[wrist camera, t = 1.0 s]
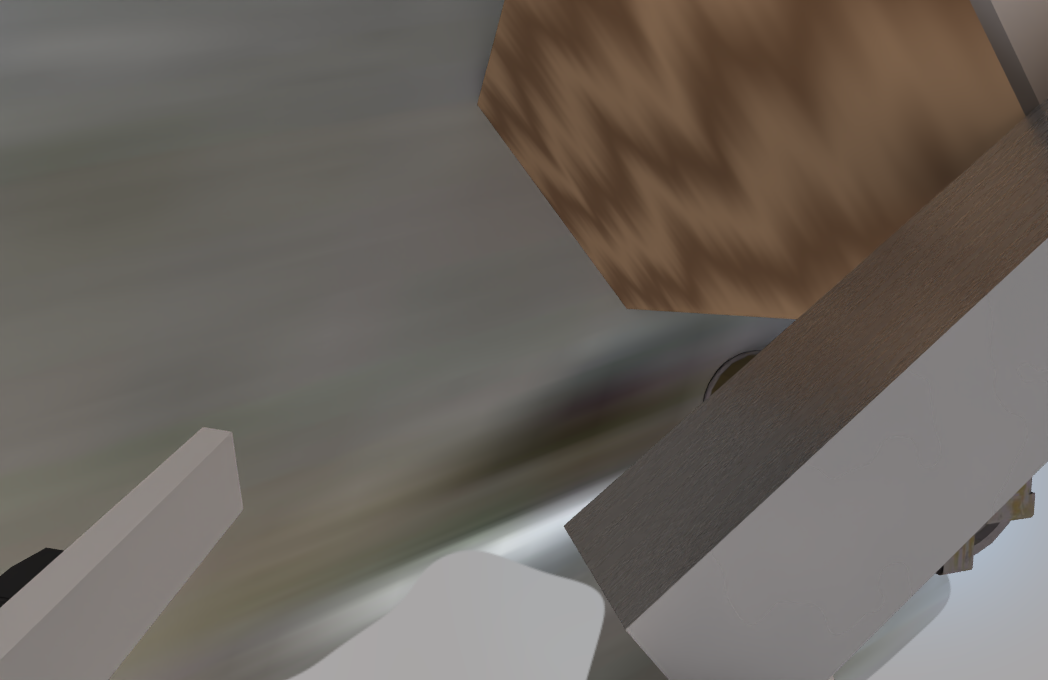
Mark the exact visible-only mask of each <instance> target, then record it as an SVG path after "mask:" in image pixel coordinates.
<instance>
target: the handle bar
mask: <svg viewBox="0 0 1048 680" xmlns="http://www.w3.org/2000/svg"><path fill="white" fill-rule="evenodd" d="M1047 461H1048V97H1047V98H1046V99H1045V100H1044V101H1043V102H1042V103H1041V104H1040V105H1038V106H1037V107H1036V108H1035V109H1034V110H1033V111H1032V112H1030V113H1029V114H1028V115H1027V116H1026V117H1025V118H1024V119H1023V120H1021V121H1020V122H1019V123H1018V124H1017V125H1016V126H1015V127H1014V128H1012V129H1011V130H1010V131H1009V132H1008V133H1007V134H1006V135H1005V136H1003V137H1002V138H1001V139H1000V140H999V141H998V142H997V143H995V144H994V145H993V146H992V147H991V148H990V149H989V150H988V151H986V152H985V153H984V154H983V155H982V156H981V157H980V158H979V159H977V160H976V161H975V162H974V163H973V164H972V165H971V166H970V167H968V168H967V169H966V170H965V171H964V172H963V173H962V174H960V175H959V176H958V177H957V178H956V179H955V180H954V181H953V182H951V183H950V184H949V185H948V186H947V187H946V188H945V189H944V190H942V191H941V192H940V193H939V194H938V195H937V196H936V197H935V198H933V199H932V200H931V201H930V202H929V203H928V204H927V205H925V206H924V207H923V208H922V209H921V210H920V211H919V212H918V213H916V214H915V215H914V216H913V217H912V218H911V219H910V220H909V221H907V222H906V223H905V224H904V225H903V226H902V227H901V228H900V229H898V230H897V231H896V232H895V233H894V234H893V235H892V236H890V237H889V238H888V239H887V240H886V241H885V242H884V243H883V244H881V245H880V246H879V247H878V248H877V249H876V250H875V251H874V252H872V253H871V254H870V255H869V256H868V257H867V258H866V259H865V260H863V261H862V262H861V263H860V264H859V265H858V266H857V267H856V268H854V269H853V270H852V271H851V272H850V273H849V274H848V275H846V276H845V277H844V278H843V279H842V280H841V281H840V282H839V283H837V284H836V285H835V286H834V287H833V288H832V289H831V290H830V291H828V292H827V293H826V294H825V295H824V296H823V297H822V298H821V299H819V300H818V301H817V302H816V303H815V304H814V305H813V306H811V307H810V308H809V309H808V310H807V311H806V312H805V313H804V314H802V315H801V316H800V317H799V318H798V319H797V320H796V321H795V322H793V323H792V324H791V325H790V326H789V327H788V328H787V329H786V330H784V331H783V332H782V333H781V334H780V335H779V336H778V337H776V338H775V339H774V340H773V341H772V342H771V343H770V344H769V345H767V346H766V347H765V348H764V349H763V350H762V351H761V352H760V353H758V354H757V355H756V356H755V357H754V358H753V359H752V360H751V361H749V362H748V363H747V364H746V365H745V366H744V367H743V368H741V369H740V370H739V371H738V372H737V373H736V374H735V375H734V376H732V377H731V378H730V379H729V380H728V381H727V382H726V383H725V384H723V385H722V386H721V387H720V388H719V389H718V390H717V391H716V392H714V393H713V394H712V395H711V396H710V397H709V398H708V399H706V400H705V401H704V402H703V403H702V404H701V405H700V406H699V407H697V408H696V409H695V410H694V411H693V412H692V413H691V414H690V415H688V416H687V417H686V418H685V419H684V420H683V421H682V422H681V423H679V424H678V425H677V426H676V427H675V428H674V429H673V430H672V431H670V432H669V433H668V434H667V435H666V436H665V437H664V438H662V439H661V440H660V441H659V442H658V443H657V444H656V445H655V446H653V447H652V448H651V449H650V450H649V451H648V452H647V453H646V454H644V455H643V456H642V457H641V458H640V459H639V460H638V461H637V462H635V463H634V464H633V465H632V466H631V467H630V468H629V469H627V470H626V471H625V472H624V473H623V474H622V475H621V476H620V477H618V478H617V479H616V480H615V481H614V482H613V483H612V484H611V485H609V486H608V487H607V488H606V489H605V490H604V491H603V492H602V493H600V494H599V495H598V496H597V497H596V498H595V499H594V500H592V501H591V502H590V503H589V504H588V505H587V506H586V507H585V508H583V509H582V510H581V511H580V512H579V513H578V514H577V515H576V516H574V517H573V518H572V519H571V520H570V521H569V522H568V523H567V524H565V525H564V527H565V529H566V531H567V532H568V534H569V536H570V538H571V539H572V541H573V543H574V544H575V546H576V548H577V549H578V551H579V553H580V554H581V556H582V558H583V559H584V561H585V563H586V564H587V566H588V568H589V569H590V571H591V573H592V574H593V576H594V578H595V580H596V581H597V583H598V585H599V586H600V588H601V590H602V591H603V593H604V595H605V596H606V598H607V600H608V601H609V603H610V605H611V606H612V608H613V610H614V611H615V613H616V615H617V616H618V618H619V620H620V621H621V623H622V625H623V627H624V628H625V630H626V631H627V632H628V633H629V634H630V636H631V637H632V638H633V639H634V640H635V641H636V642H637V644H638V645H639V646H640V647H641V648H642V649H643V650H644V652H645V653H646V654H647V655H648V656H649V657H650V658H651V660H652V661H653V662H654V663H655V664H656V665H657V666H658V668H659V669H660V670H661V671H662V672H663V673H664V674H665V676H666V677H667V678H668V679H669V680H828V679H829V678H830V677H831V676H832V675H833V674H834V673H835V672H836V671H837V670H838V669H839V668H840V667H841V666H842V665H843V664H845V663H846V662H847V661H848V660H849V659H850V658H851V657H852V656H853V655H854V654H855V653H856V652H857V651H858V650H859V649H860V648H861V647H862V646H863V645H864V644H865V643H866V642H867V641H868V640H869V639H870V638H871V637H872V636H873V635H874V634H875V633H876V632H877V631H878V630H879V629H880V628H881V627H882V626H883V625H884V624H885V623H886V622H887V621H888V620H889V619H890V618H891V617H892V616H893V615H894V614H895V613H896V612H897V611H898V610H899V609H900V608H901V607H902V606H903V605H904V604H905V603H906V602H907V601H908V600H909V599H910V598H911V597H912V596H913V595H914V594H915V593H916V592H917V591H918V590H919V589H920V588H921V587H922V586H923V585H924V584H925V583H926V582H927V581H928V580H929V579H930V578H931V577H932V576H933V575H934V574H935V573H936V572H937V571H938V570H939V569H940V568H941V567H942V566H943V565H944V564H945V563H946V562H947V561H948V560H949V559H950V558H951V557H952V556H953V555H954V554H955V553H956V552H957V551H958V550H959V549H960V548H961V547H962V546H963V545H964V544H965V543H966V542H967V541H968V540H969V539H970V538H971V537H972V536H973V535H974V534H975V533H976V532H977V531H978V530H979V529H980V528H981V527H982V526H983V525H984V524H985V523H986V522H987V521H988V520H989V519H990V518H991V517H992V516H993V515H994V514H995V513H996V512H997V511H998V510H999V509H1000V508H1001V507H1002V506H1003V505H1004V504H1005V503H1006V502H1007V501H1008V500H1009V499H1010V498H1011V497H1012V496H1013V495H1014V494H1015V493H1016V492H1017V491H1018V490H1019V489H1020V488H1021V487H1022V486H1023V485H1024V484H1025V483H1026V482H1027V481H1028V480H1029V479H1030V478H1031V477H1032V476H1033V475H1034V474H1035V473H1036V472H1037V471H1038V470H1039V469H1040V468H1041V467H1042V466H1043V465H1044V464H1045V463H1046V462H1047Z"/></svg>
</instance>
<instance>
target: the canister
mask: <svg viewBox="0 0 1048 680" xmlns="http://www.w3.org/2000/svg"><path fill="white" fill-rule="evenodd" d="M760 352H761V351H752V352H747V353H742V354H740V355H738V356H736V357H734V358H732V359H731V360H729V361H728V362H726V363H725V364H724V365H723V366H722V367H721V368H720V369H719V370H718V371H717V373H716V374H715V375H714V377H713V378H712V380H711V382H710V383H709V385H708V388H707V391H706V393H705V397H704V401H705V400H706V399H708V398H709V397H710V396H711V395H712V394H713V393H714V392H716V391H717V390H718V389H719V388H720V387H721V386H722V385H723V384H725V383H726V382H727V381H728V380H729V379H730V378H731V377H732V376H734V375H735V374H736V373H737V372H738V371H739V370H740V369H741V368H743V367H744V366H745V365H746V364H747V363H748V362H749V361H751V360H752V359H753V358H754V357H755V356H756V355H757V354H758V353H760ZM1031 485H1032V477H1031V478H1030V479H1029V480H1028V481H1027V482H1026V483H1025V484H1024V485H1023V486H1022V487H1021V488H1020V489H1019V490H1018V491H1017V492H1016V493H1015V494H1014V495H1013V496H1012V497H1011V498H1010V499H1009V500H1008V501H1007V502H1006V503H1005V504H1004V505H1003V506H1002V507H1001V508H1000V509H999V510H998V511H997V512H996V513H995V514H994V515H993V516H992V517H991V518H990V519H989V520H988V521H987V522H986V523H985V524H984V525H983V526H982V527H981V528H980V529H979V530H978V531H977V532H976V533H975V534H974V535H973V536H972V537H971V538H970V539H969V540H968V541H967V542H966V543H965V544H964V545H963V546H962V547H961V548H960V549H959V550H958V551H957V552H956V553H955V554H954V555H953V556H952V557H951V558H950V559H949V560H948V561H947V562H946V563H945V564H944V565H943V566H942V567H941V568H940V569H939V570H938V571H937V572H936V574H938V575H944V574H950V573H955V572H961V571H966V570H971V569H972V568H973V567H972V566H973V555H975V554H977V553H978V552H980V551H981V550H983V549H984V548H985V547H987V546H988V545H990V544H991V543H992V542H993V541H994V540H995V539H996V538H997V537H998V535H999V534H1000V533H1001V532H1002V531H1003V530H1004V528H1005V527H1006V526H1007V525H1008V524H1009V522H1010V521H1011V520H1018V519H1024V518H1031V517H1032V516H1033V515H1034V503H1035V502H1034V501H1035V493H1033V492H1031Z"/></svg>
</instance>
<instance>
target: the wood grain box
mask: <svg viewBox="0 0 1048 680" xmlns="http://www.w3.org/2000/svg"><path fill="white" fill-rule="evenodd" d="M1047 97H1048V0H505V1H504V5H503V9H502V12H501V16H500V20H499V24H498V28H497V31H496V35H495V39H494V43H493V47H492V50H491V54H490V58H489V62H488V66H487V70H486V73H485V77H484V81H483V85H482V89H481V92H480V96H479V100H478V104H477V105H478V106H479V107H480V109H481V110H482V112H483V113H484V114H485V116H486V117H487V118H488V120H489V121H490V123H491V124H492V125H493V127H494V128H495V129H496V131H497V132H498V133H499V135H500V136H501V138H502V139H503V140H504V142H505V143H506V144H507V146H508V147H509V148H510V150H511V151H512V153H513V154H514V155H515V157H516V158H517V159H518V161H519V162H520V163H521V165H522V166H523V168H524V169H525V170H526V172H527V173H528V174H529V176H530V177H531V178H532V180H533V181H534V183H535V184H536V185H537V187H538V188H539V189H540V191H541V192H542V194H543V195H544V196H545V198H546V199H547V200H548V202H549V203H550V204H551V206H552V207H553V209H554V210H555V211H556V213H557V214H558V215H559V217H560V218H561V219H562V221H563V222H564V224H565V225H566V226H567V228H568V229H569V230H570V232H571V233H572V234H573V236H574V237H575V239H576V240H577V241H578V243H579V244H580V245H581V247H582V248H583V249H584V251H585V252H586V254H587V255H588V256H589V258H590V259H591V260H592V262H593V263H594V265H595V266H596V267H597V269H598V270H599V271H600V273H601V274H602V275H603V277H604V278H605V280H606V281H607V282H608V284H609V285H610V286H611V288H612V289H613V290H614V292H615V293H616V295H617V296H618V297H619V299H620V300H621V301H622V303H623V304H624V305H625V307H626V308H627V309H640V310H656V311H672V312H688V313H704V314H721V315H737V316H753V317H769V318H785V319H798V318H799V317H800V316H801V315H802V314H804V313H805V312H806V311H807V310H808V309H809V308H810V307H811V306H813V305H814V304H815V303H816V302H817V301H818V300H819V299H821V298H822V297H823V296H824V295H825V294H826V293H827V292H828V291H830V290H831V289H832V288H833V287H834V286H835V285H836V284H837V283H839V282H840V281H841V280H842V279H843V278H844V277H845V276H846V275H848V274H849V273H850V272H851V271H852V270H853V269H854V268H856V267H857V266H858V265H859V264H860V263H861V262H862V261H863V260H865V259H866V258H867V257H868V256H869V255H870V254H871V253H872V252H874V251H875V250H876V249H877V248H878V247H879V246H880V245H881V244H883V243H884V242H885V241H886V240H887V239H888V238H889V237H890V236H892V235H893V234H894V233H895V232H896V231H897V230H898V229H900V228H901V227H902V226H903V225H904V224H905V223H906V222H907V221H909V220H910V219H911V218H912V217H913V216H914V215H915V214H916V213H918V212H919V211H920V210H921V209H922V208H923V207H924V206H925V205H927V204H928V203H929V202H930V201H931V200H932V199H933V198H935V197H936V196H937V195H938V194H939V193H940V192H941V191H942V190H944V189H945V188H946V187H947V186H948V185H949V184H950V183H951V182H953V181H954V180H955V179H956V178H957V177H958V176H959V175H960V174H962V173H963V172H964V171H965V170H966V169H967V168H968V167H970V166H971V165H972V164H973V163H974V162H975V161H976V160H977V159H979V158H980V157H981V156H982V155H983V154H984V153H985V152H986V151H988V150H989V149H990V148H991V147H992V146H993V145H994V144H995V143H997V142H998V141H999V140H1000V139H1001V138H1002V137H1003V136H1005V135H1006V134H1007V133H1008V132H1009V131H1010V130H1011V129H1012V128H1014V127H1015V126H1016V125H1017V124H1018V123H1019V122H1020V121H1021V120H1023V119H1024V118H1025V117H1026V116H1027V115H1028V114H1029V113H1030V112H1032V111H1033V110H1034V109H1035V108H1036V107H1037V106H1038V105H1040V104H1041V103H1042V102H1043V101H1044V100H1045V99H1046V98H1047Z"/></svg>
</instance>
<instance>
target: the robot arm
mask: <svg viewBox="0 0 1048 680" xmlns="http://www.w3.org/2000/svg"><path fill="white" fill-rule="evenodd" d="M242 511H243V503H242V496H241V489H240V483H239V476H238V469H237V462H236V455H235V448H234V441H233V435H232V432H230V431H224V430H218V429H212V428H206V427H202V428H201V429H200V430H199V431H198V432H197V433H196V434H195V435H193V436H192V437H191V438H190V439H189V440H188V441H187V442H186V443H184V444H183V445H182V446H181V447H180V448H179V449H178V450H177V451H175V452H174V453H173V454H172V455H171V456H170V457H169V458H168V459H167V460H165V461H164V462H163V463H162V464H161V465H160V466H159V467H158V468H156V469H155V470H154V471H153V472H152V473H151V474H150V475H149V476H147V477H146V478H145V479H144V480H143V481H142V482H141V483H140V484H138V485H137V486H136V487H135V488H134V489H133V490H132V491H131V492H130V493H128V494H127V495H126V496H125V497H124V498H123V499H122V500H121V501H119V502H118V503H117V504H116V505H115V506H114V507H113V508H112V509H110V510H109V511H108V512H107V513H106V514H105V515H104V516H103V517H101V518H100V519H99V520H98V521H97V522H96V523H95V524H94V525H93V526H91V527H90V528H89V529H88V530H87V531H86V532H85V533H84V534H82V535H81V536H80V537H79V538H78V539H77V540H76V541H75V542H73V543H72V544H71V545H70V546H69V547H68V548H67V549H66V550H64V551H63V550H57V549H51V548H45V549H43V550H41V551H40V552H38V553H36V554H34V555H32V556H31V557H29V558H27V559H25V560H23V561H22V562H20V563H18V564H16V565H14V566H13V567H11V568H10V569H8V570H7V571H6V572H5V573H4V574H2V575H1V576H0V680H108V679H109V678H110V677H111V676H112V674H113V673H114V672H115V671H116V669H117V668H118V667H119V666H120V664H121V663H122V662H123V661H124V659H125V658H126V657H127V656H128V654H129V653H130V652H131V651H132V649H133V648H134V647H135V645H136V644H137V643H138V642H139V640H140V639H141V638H142V637H143V635H144V634H145V633H146V632H147V630H148V629H149V628H150V627H151V625H152V624H153V623H154V622H155V620H156V619H157V618H158V616H159V615H160V614H161V613H162V611H163V610H164V609H165V608H166V606H167V605H168V604H169V603H170V601H171V600H172V599H173V598H174V596H175V595H176V594H177V593H178V591H179V590H180V589H181V587H182V586H183V585H184V584H185V582H186V581H187V580H188V579H189V577H190V576H191V575H192V574H193V572H194V571H195V570H196V569H197V567H198V566H199V565H200V564H201V562H202V561H203V560H204V558H205V557H206V556H207V555H208V553H209V552H210V551H211V550H212V548H213V547H214V546H215V545H216V543H217V542H218V541H219V540H220V538H221V537H222V536H223V535H224V533H225V532H226V531H227V529H228V528H229V527H230V526H231V524H232V523H233V522H234V521H235V519H236V518H237V517H238V516H239V514H240V513H241V512H242ZM828 680H834V678H833V676H831V677H830V678H829V679H828Z"/></svg>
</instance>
